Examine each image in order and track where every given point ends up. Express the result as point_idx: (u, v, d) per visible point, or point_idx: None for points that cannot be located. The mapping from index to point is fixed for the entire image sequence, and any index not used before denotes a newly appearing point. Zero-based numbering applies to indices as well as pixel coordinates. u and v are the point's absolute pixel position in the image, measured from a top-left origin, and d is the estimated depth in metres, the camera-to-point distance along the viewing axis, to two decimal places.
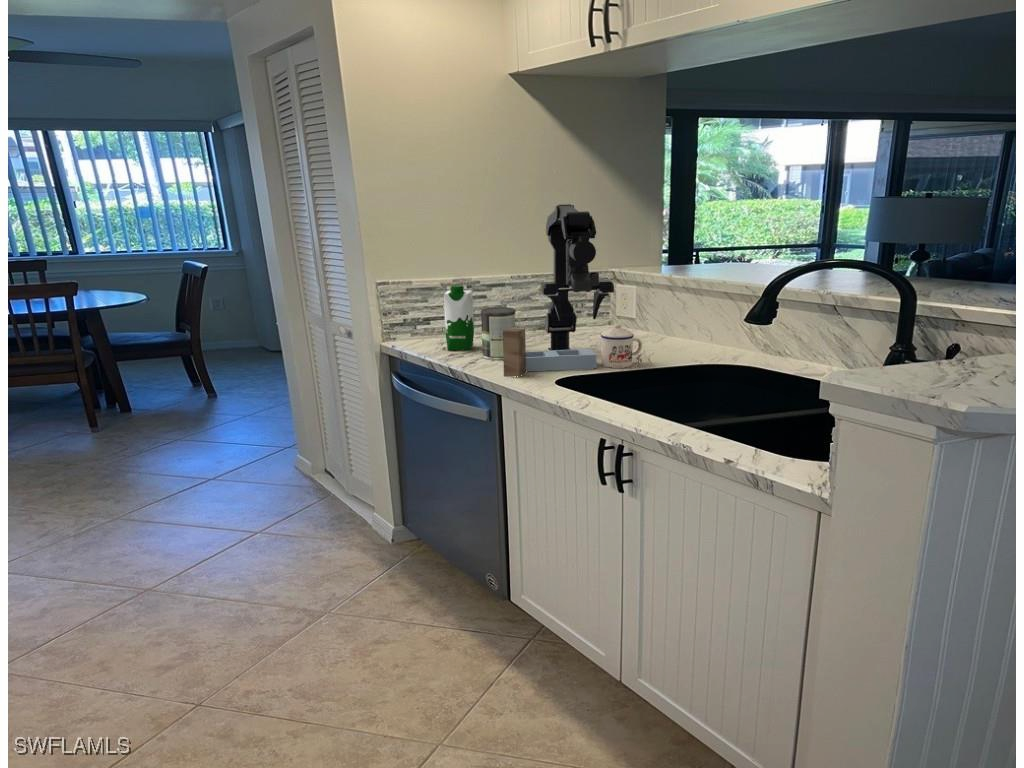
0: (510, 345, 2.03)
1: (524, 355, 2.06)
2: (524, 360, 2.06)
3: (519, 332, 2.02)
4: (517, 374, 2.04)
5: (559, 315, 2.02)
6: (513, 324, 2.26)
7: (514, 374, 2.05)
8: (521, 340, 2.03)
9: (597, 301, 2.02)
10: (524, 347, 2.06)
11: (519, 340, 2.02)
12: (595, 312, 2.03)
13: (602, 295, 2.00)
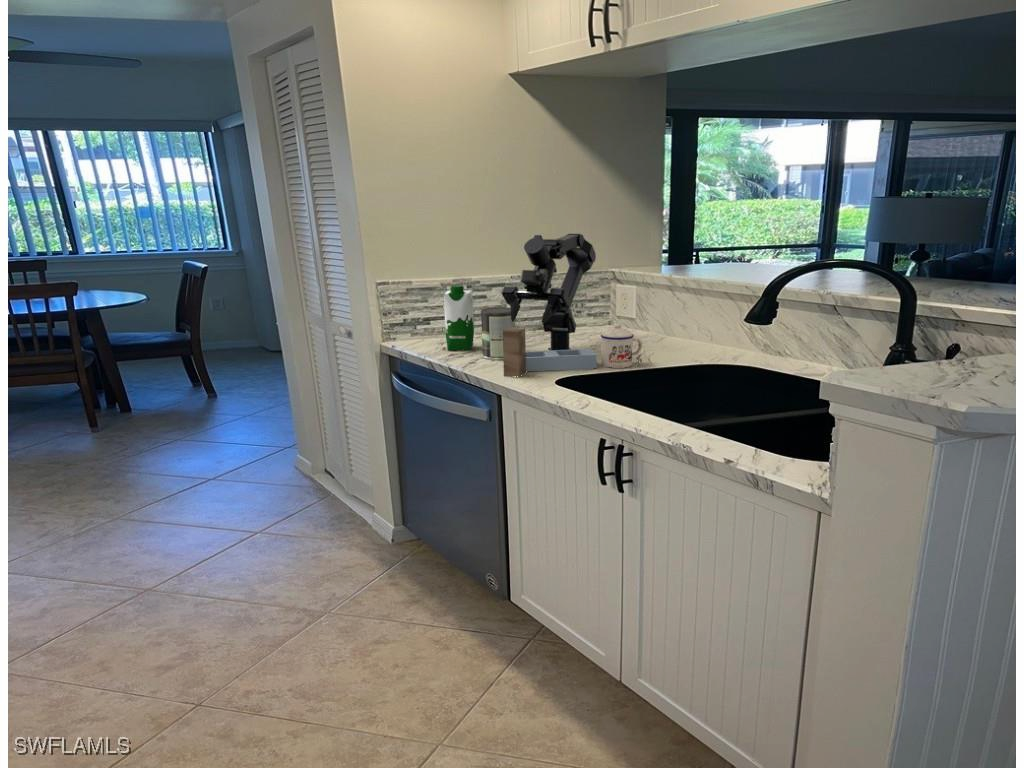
0: (510, 345, 2.03)
1: (524, 355, 2.06)
2: (524, 360, 2.06)
3: (519, 332, 2.02)
4: (517, 374, 2.04)
5: (511, 314, 2.13)
6: (513, 324, 2.26)
7: (514, 374, 2.05)
8: (521, 340, 2.03)
9: (547, 304, 2.10)
10: (524, 347, 2.06)
11: (519, 340, 2.02)
12: (544, 315, 2.09)
13: (551, 297, 2.09)
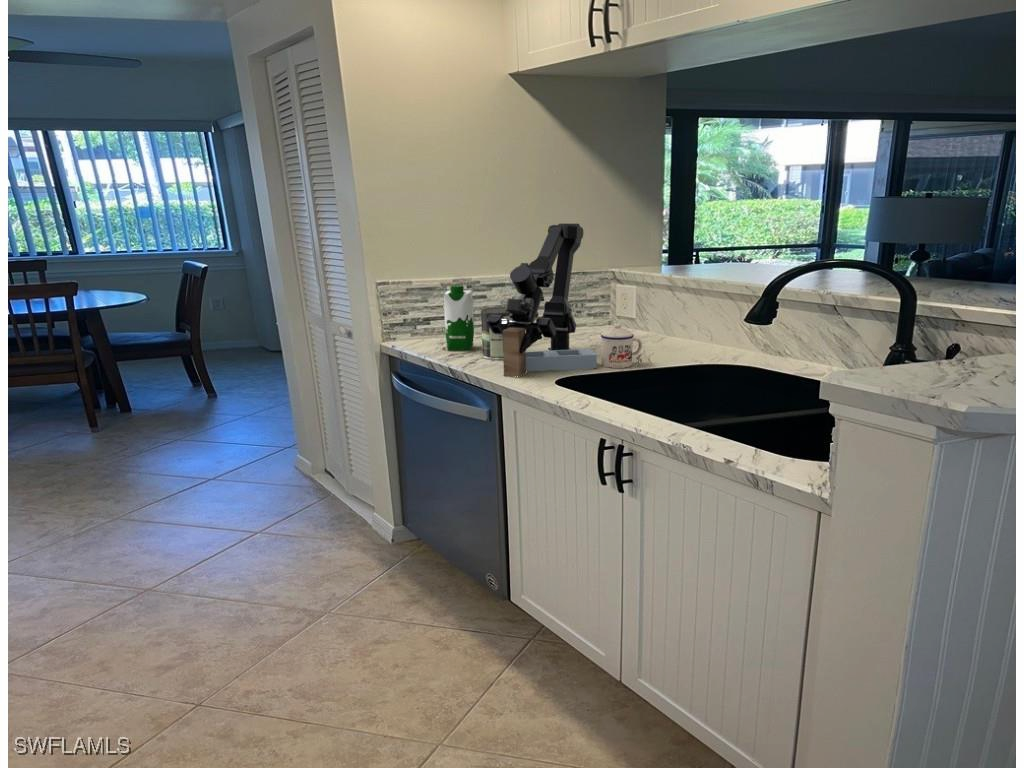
0: (510, 345, 2.03)
1: (524, 355, 2.06)
2: (524, 360, 2.06)
3: (519, 332, 2.02)
4: (517, 374, 2.04)
5: None
6: None
7: (514, 374, 2.05)
8: (521, 340, 2.03)
9: (526, 334, 2.04)
10: None
11: (519, 340, 2.02)
12: (522, 345, 2.03)
13: (529, 326, 2.03)
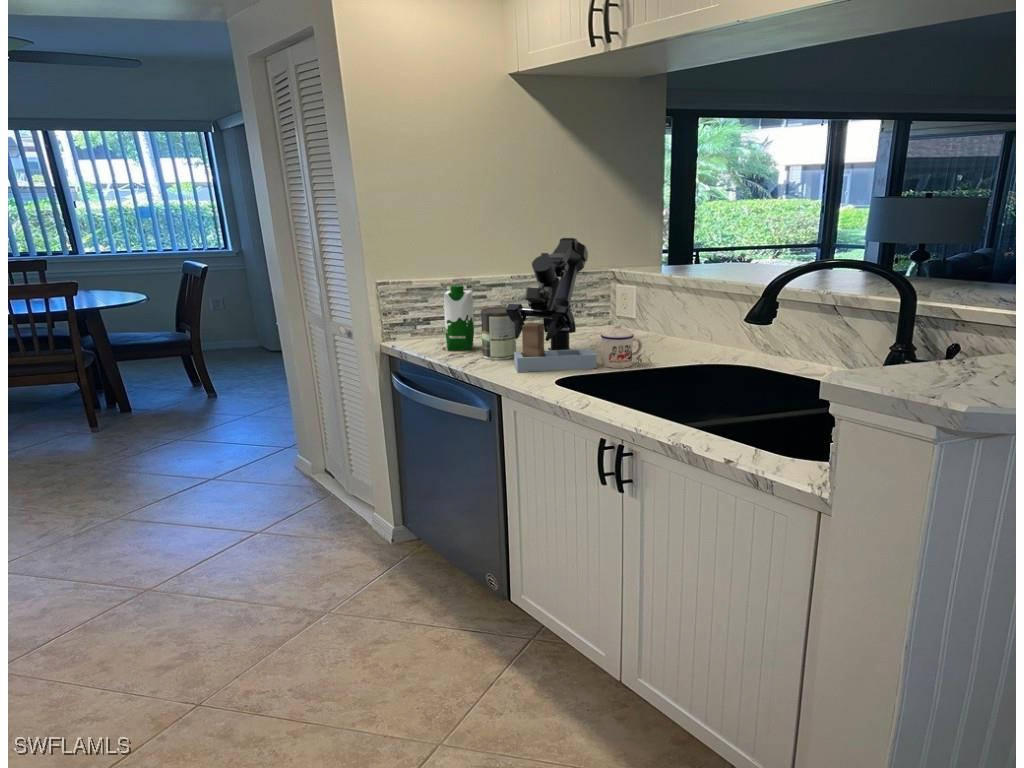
0: (529, 339, 2.10)
1: (542, 349, 2.13)
2: (542, 354, 2.13)
3: (538, 327, 2.09)
4: None
5: (515, 332, 2.13)
6: (513, 324, 2.26)
7: None
8: (539, 335, 2.10)
9: (551, 322, 2.10)
10: (542, 341, 2.13)
11: (538, 335, 2.09)
12: (548, 332, 2.09)
13: (555, 314, 2.09)
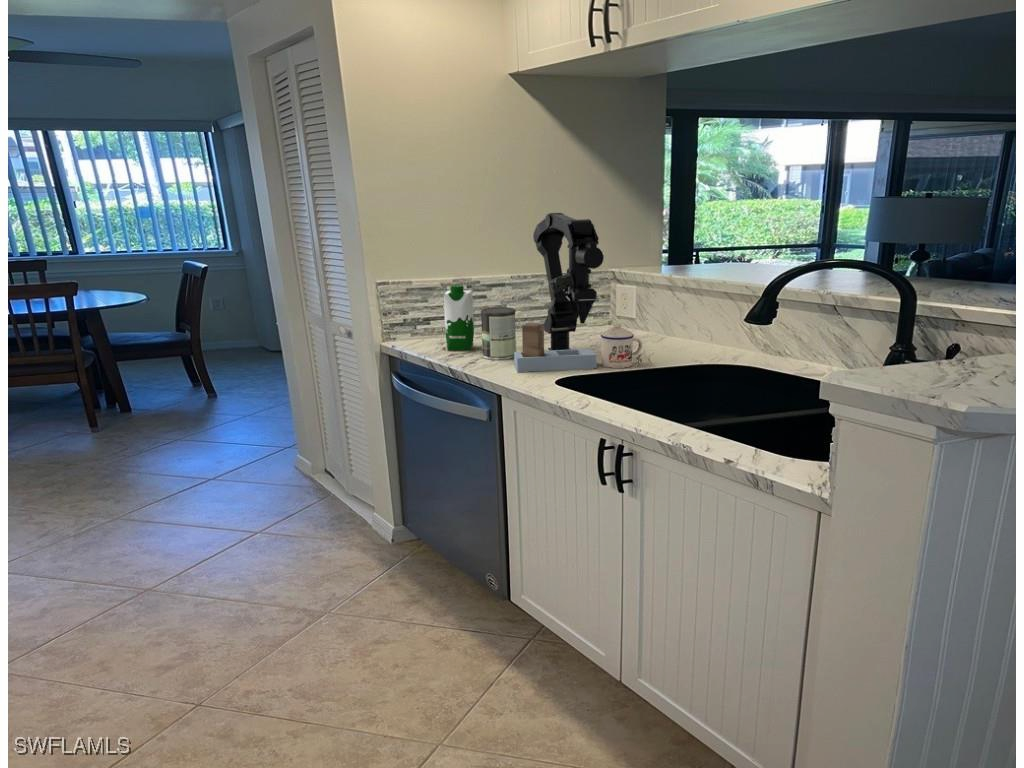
0: (529, 339, 2.10)
1: (542, 349, 2.13)
2: (542, 354, 2.13)
3: (538, 327, 2.09)
4: None
5: (573, 312, 2.22)
6: (513, 324, 2.26)
7: None
8: (539, 335, 2.10)
9: (577, 306, 2.11)
10: (542, 341, 2.13)
11: (538, 335, 2.09)
12: (579, 316, 2.13)
13: (573, 300, 2.10)
